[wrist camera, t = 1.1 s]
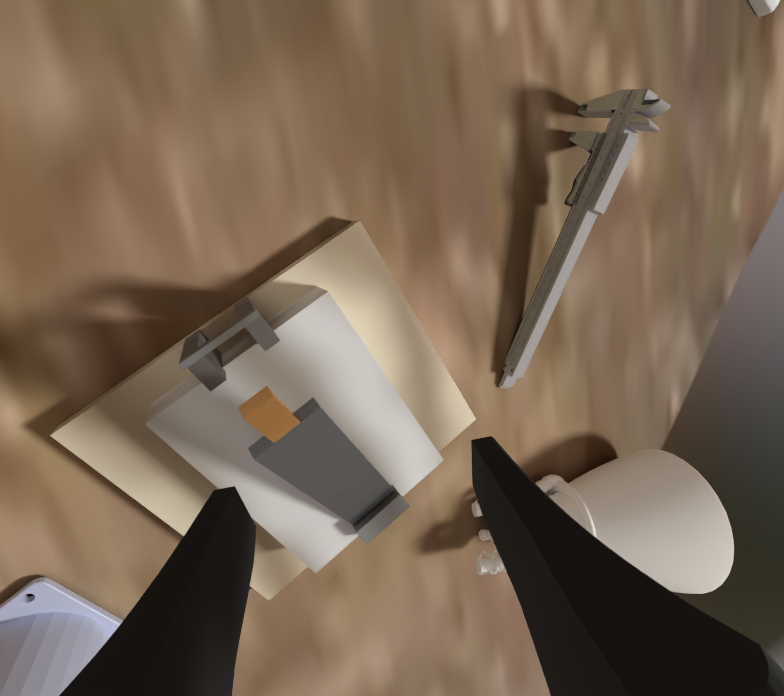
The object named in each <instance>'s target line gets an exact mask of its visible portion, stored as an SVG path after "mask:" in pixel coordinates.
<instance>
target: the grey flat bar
mask: <svg viewBox="0 0 784 696" xmlns="http://www.w3.org/2000/svg"><path fill="white" fill-rule="evenodd" d="M238 410H239V412H240V413H241V415H242V417H243V419H244V420H245V421H246V422H248V423H249V424H250V425H251V426H253V427H254V428H255V429H257V430H258V431H259V432H260V433H262V434H263V435H264V436H263V437H261V438H260V439H259V440H257V441H256V442H255V443H254V444H252V445H251V446H250V447H248V449H249V451H250V453H251V455H252V457H253V459H254V460H255V461H257V462H258V463H260V464H261V465H263V466H264V467H266V468H267V469H269V470H270V471H272V472H273V473H275V474H276V475H278V476H280V477H281V478H283V479H284V480H286V481H287V482H289V483H290V484H292V485H293V486H295V487H296V488H298V489H299V490H301V491H302V492H304V493H305V494H307V495H308V496H310V497H311V498H313V499H314V500H316V501H317V502H319V503H320V504H322V505H323V506H325V507H326V508H328V509H329V510H331V511H332V512H334V513H335V514H337V515H338V516H340V517H341V518H343V519H345V520H346V521H348V522H349V523H351V524H352V525H355V524H356V523H358V522H359V521H360V520H361V519H362V518H363V517H364V516H366V515H367V514H368V513H369V512H370V511H371V510H372V509H374V508H375V507H376V506H377V505H378V504H379V503H380V502H382V501H383V500H384V499H385V498H386V497H387V496H388V495H390V494H391V493H392V492H393V491H394V489H393V487H392V486H391V485H390V484H389V482H388V481H387V480H386V479H385V478H384V477H383V476H382V474H381V473H380V472H379V471H378V470H377V469H376V468H375V466H374V465H373V464H372V463H371V462H370V461H369V460H368V459H367V457H366V456H365V455H364V454H363V453H362V452H361V451H360V450H359V448H358V447H357V446H356V445H355V444H354V443H353V442H352V440H351V439H350V438H349V437H348V436H347V435H346V434H345V433H344V431H343V430H342V429H341V428H340V427H339V426H338V425H337V423H336V422H335V421H334V420H333V419H332V418H331V417H330V416H329V414H328V413H327V412H326V411H325V410H324V409H323V408H322V407H321V405H320V404H319V403H318V402H317V401H316V400H315V399H314V397H313V398H311V399H310V400H309V401H307V402H306V403H305V404H304V405H302V406H301V407H300V408H299V409H297V410H296V411H295V412H294V411H293V410H292V409H291V408H290V407H289V406H288V405H287V404H285V403H284V402H283V401H282V400H281V399H280V398H279V397H278V396H277V395H276V394H275V393H274V392H273V391H272V390H271V389H270V388H269V387H268V386H266V387H264V388H263V389H262V390H260V391H259V392H258V393H256V394H255V395H254V396H252V397H251V398H250V399H248V400H247V401H246V402H244V403H243V404H242V405H240V406H239V407H238Z"/></svg>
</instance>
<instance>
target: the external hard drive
mask: <svg viewBox="0 0 784 696" xmlns="http://www.w3.org/2000/svg"><path fill="white" fill-rule="evenodd" d="M748 1H749V3H750V5H751V6H752V8H753V10H754V11H755V13H756V15H757V17H761V16H763V15H766V14H768V13H771V12H772V11H773V10H774V9H775V8H776V6H777V5H778V3H779V1H780V0H748Z"/></svg>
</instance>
